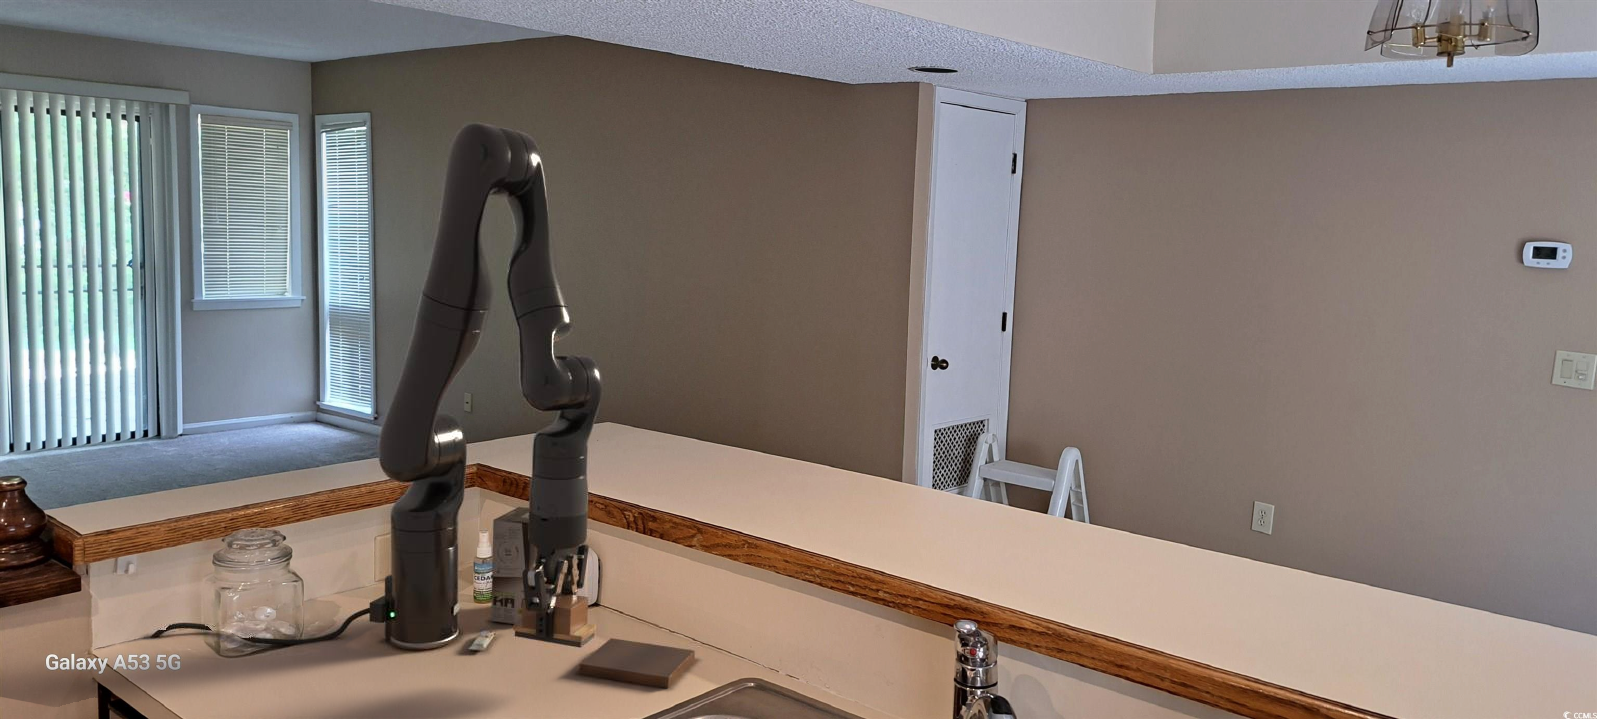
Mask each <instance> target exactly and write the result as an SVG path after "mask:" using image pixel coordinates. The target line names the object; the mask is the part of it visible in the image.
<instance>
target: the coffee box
mask: <svg viewBox="0 0 1597 719" xmlns="http://www.w3.org/2000/svg"><path fill="white" fill-rule="evenodd" d="M492 521H493V522H492V563H491V564H492V568H491V570H492V571H491V617H490V618H491V621H492V622H495V623H497V622H498V623H504V624H512V625H514V624H516V623H517V622H519V621H520V620H522V605H523V601H524V600H525V596H524V587H523V577H522V574H523V571H524V569H530V570H531V569H532V568H533V567H534V566H535V560H536V557H537V552H538V550H537V548H536V547H535V546H534V545H532V544H531V543H530V542H529V540H528V528H529V507H523V506H518V507H516V508H514V509H512V510H510V511H508V512H506V513H503V514H502V515H501V516H498V517H496V518H494V519H493V520H492ZM545 587H546V588H553V587H554V585H548V584H545Z"/></svg>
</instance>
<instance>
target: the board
mask: <svg viewBox="0 0 1597 719" xmlns="http://www.w3.org/2000/svg"><path fill="white" fill-rule="evenodd" d="M695 655H696V650H694V649H686V648H680V647H675V646H674V647H673V646H667V645H659V644H654V643H646V642H639V641H633V640H625V639H618V638H612V637H611V638H609V639H608V640H607V641H606V642H605V643H603V644H602V645H601V646H600V647H598V648H597V649H596V650H595V651H593V652H592V653H591V654H589V656H588V657H586V658H585V659H584V660H582V661H581V662H580V663H579V675H583V676H588V677H589V676H590V677H595V678H602V679H608V680H615V681H619V682H620V681H621V682H627V683H631V684H632V683H633V684H639V685H645V686H652V687H657V688H658V687H659V688H666V689H669V688H670V687H671V686H672V685H673V684H674V683H675V682H676V681H677V680H678V678H680V676H681V675H682V674H683V673H685V671H686V670H687V669H688V668H689V667H690V666H691V665H692V664H693V663H694V662H695V660H696V658H695Z"/></svg>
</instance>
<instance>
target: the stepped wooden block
mask: <svg viewBox="0 0 1597 719" xmlns="http://www.w3.org/2000/svg"><path fill="white" fill-rule="evenodd" d="M546 597H547V603H548V598H549V595H548V594H546ZM534 598H535V597H533V602H534ZM553 612H554V628H553V638H552V639H550V640H549V641H547V640H541V639H537V638H536V612H533V611H527V610H526V605H525V600H524V601H523V605H522V620H520V621H519V622H517V623H516V624H512V625H513V627H512V630H513V632H514V637H516V638H521V639H527V640H533V641H539V642H543V643H544V642H545V643H551V644H557V645H563V646H567V647H573V648H579V649H581V648H582V647H584V646H585V645H586V644H588V643H589V642H590V641H591V640H593V639H594V638H595V633H596V632H597V625H593V624H588V619H589V618H588V617H589V596H583V595H578V594H577V595H571V594H565V593H560V595H558V596H557V597H556V601H555V606H554V610H553Z"/></svg>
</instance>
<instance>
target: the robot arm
mask: <svg viewBox="0 0 1597 719" xmlns="http://www.w3.org/2000/svg"><path fill="white" fill-rule="evenodd" d="M489 197H496V198H497V197H498V198H504V199H505V201H506V203H507V206H508V208H509V211H510V214H511V217H512V221H513V228H514V233H513V235H514V236H513V242H512V248H511V252H510V256H509V259H508V264H507V269H506V289H507V294H508V298H509V302H510V306H511V309H512V313H513V317H514V320H515V323H516V327H517V330H518V353H519V354H518V359H519V360H518V361H519V364H518V383H519V388H520V392H521V395H522V396H523V399H524V400H525V402H526V404H527V405H529V407H531V408H532V409H533V410H534V411H537V412H540V413H552V412H557V416H556V417H555V420H554V421H553V422H552V423H550V424H549V425H547V426H545V427H542V428H541V429H539V430H537V432H536V433H535V434H534V436H533V441H532V457H531V458H532V460H531V462H532V463H531V478H530V485H529V494H528V495H529V496H528V508H529V528H528V540H529V542H530V543H531V544H532V545H534V546H535V547H536V548H537V550H538V552H537V557H536V560H535V566H534V567H533V568H532V569H531V570H530V569H524V571H523V574H522V577H523V587H524V596H525V605H526V610H527V611H533V612H536V638H537V639H541V640H547V641H549V640H550V639H552V638H553V628H554V612H553V610H554V606H555V601H556V597H557V596H558V595H560V593H565V594H571V595H577V596H578V594H579V593H578V592H579V591H578V590H579V589H580V590H581V589H583V588H584V587H585V586H584V585H585V578H586V571H587V565H588V564H587V563H588V556H589V549H590V547H589V544H584V543H586V541H587V539H588V513H589V512H588V511H589V510H588V507H589V484H588V456H589V454H588V452H589V451H588V445H589V440H590V438H591V435H592V433H593V428H594V426H595V421H596V419H597V415H598V412H599V408H600V405H601V400H602V397H603V390H604V382H603V375H602V372H601V368H600V367H599V365H598V363H597V362H596V361H595V360H594V359H593V358H592V357H590V356H588V355H586V354H568V355H555V350H554V347H555V342H558V341H560V340H562V339H564V338H566V337H568V336H569V335H570V334H571V333H572V331H573V328H574V322H573V317H572V313H571V310H570V307H569V304H568V299H567V296H566V293H565V289H564V285H563V282H562V279H561V276H560V275H561V274H560V272H559V268H558V264H557V263H558V262H557V259H556V253H555V247H554V240H553V230H552V223H551V215H550V214H551V213H550V205H549V199H548V190H547V183H546V174H545V168H544V162H543V157H542V154H541V150H540V148H539V145H538V144H537V142H536V141H535V139H534V138H533V137H532V136H531V135H529V134H528V133H526V132H524V131H520V130H518V129H513V128H507V127H503V126H499V125H498V126H497V125H493V124H489V123H483V122H469V123H467V124H465V125H463V126H462V127H461V128H460V129H459V130H458V131H457V133H456V134H455V136H454V138H453V140H452V142H451V145H450V148H449V151H448V155H447V161H446V167H445V173H444V180H443V187H442V194H441V200H440V201H441V202H440V209H439V215H438V222H437V227H436V233H435V235H434V236H435V238H434V241H433V245H432V250H431V255H430V259H429V264H428V268H427V272H426V276H425V279H424V281H423V285H422V289H421V293H420V297H419V301H418V305H417V309H416V312H415V314H416V315H415V319H414V324H413V328H412V333H411V337H410V340H409V344H408V348H407V351H406V353H405V354H406V355H405V358H404V363H403V366H402V369H401V373H400V377H399V379H398V382H397V386H396V388H395V391H394V394H393V397H392V400H391V401H390V402H391V403H390V405H389V407H388V410H387V412H386V416H385V417H384V421H383V423H382V427H381V430H380V433H379V437H378V442H377V443H378V444H377V458H378V462H379V466H380V468H381V470H382V472H383V473H384V474H385V476H386V477H387V478H388V479H390V480H392V481H393V482H396V483H401V484H402V483H403V484H405V483H407V484H408V483H411V484H410V486H409V487H408V489H407V491H406V492H405V493H404V494H403V495H402V496H401V497H400V498H399V499H398V500H397V501H396V502H395V503H394V504H393V505H392V506H391V509H390V574H387V576H385V578H384V595H382V596H381V597H378V598H376V599H374V600H372V601H370V602H369V607H367V608H364V609H361V610H359V611H357V612H355V613H353V614H351V615H350V616H348V617H347V618H346V619H345V621H344V622H343V623H342V624H341V626H340V627H339V628H338V629H336V630H335V631H333V632H330V633H328V634H327V633H326V634H325V635H321V636H317V637H312V638H302V639H300V638H299V639H290V638H289V639H288V638H287V639H286V638H271V637H270V638H269V637H256V636H253V637H251V638H250V637H249V638H240V640H243V641H245V642H248V643H252V644H261V645H275V646H276V645H278V646H297V645H305V644H311V643H317V642H323V641H324V642H325V641H328V640H332V639H334V638H337V637H338V636H340V635H342V634H343V633H344V632H345V631H346V630H347V629H348V627H349V625H350V624H352V623H353V621H355V620H357V619H358V618H361V617H363V616H366V615H369V622H371V623H377V624H383V623H384V641H385V642H389V643H390V644H392V645H393V646H395V647H397V648H399V649H405V650H420V651H422V650H431V649H437V648H440V647H445V646H447V645H449V644H451V643H453V642H455V641H456V640H457V639H458V638H459V636H460V634H459V633H460V632H459V630H460V629H459V611H460V610H461V606H462V605H461V600H459V515H460V511H461V508H462V505H463V503H464V500H465V490H466V474H467V473H466V472H467V454H468V453H467V440H466V435H465V431H464V429H463V426H462V424H461V423H460V421H459V420H458V418H457V417H456V416H454V415H453V414H452V413H449V412H447V411H444V410H443V411H442V410H440V407H441V406H442V405H441V404H442V402H443V399H444V398H445V395H446V393H447V391H448V389H449V387H450V386H451V384H452V383H453V382H454V380H455V379H456V377H457V376H458V375H459V373H460V372H461V371H462V370H463V368H464V367H465V365H466V364H467V363H468V361H469V360H470V358H471V357H472V356H473V354H474V353H475V351H476V350H477V348H478V346H479V344H480V343H481V341H482V338H483V336H484V333H485V330H486V326H487V322H488V319H489V315H490V311H491V308H492V303H493V296H494V291H493V290H494V289H493V280H492V277H491V273H490V269H489V266H488V262H487V259H486V256H485V252H484V248H483V244H482V234H481V233H482V224H483V219H484V214H485V209H486V205H487V201H488V199H489ZM545 584H548V585H553V588H546V587H545ZM546 594H548V595H549V598H548V603H547V597H546ZM533 597H535V598H534V602H533ZM171 624H172V625H171ZM171 624H168V625H169V626H168V627H167V628H166V630H159V629H157V630H156V631H155V632H153V633H152V634H151V636H150V637H149V638H150V639H156V638H158V637H160V636H161V635H163V634H165V633H167V632H169V631H173V630H179V629H189V630H191V629H192V630H201V631H209V632H210V631H211V632H213V631H212V630H211V629H210V628H209V627H208V626H205V624H204V623H196V622H176V623H171Z"/></svg>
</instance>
